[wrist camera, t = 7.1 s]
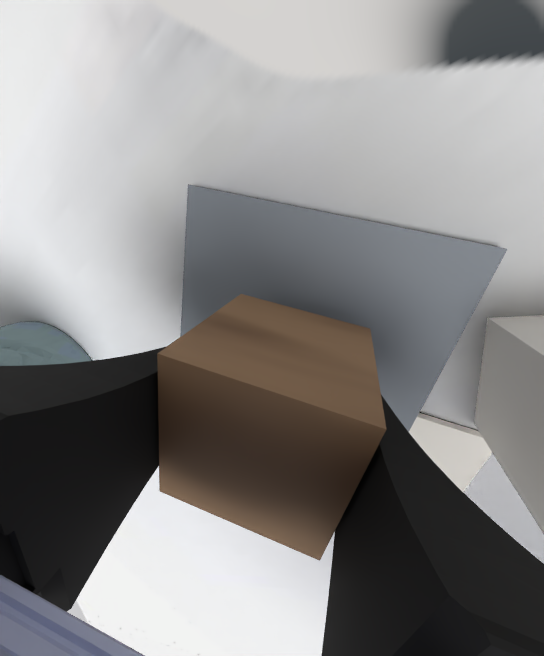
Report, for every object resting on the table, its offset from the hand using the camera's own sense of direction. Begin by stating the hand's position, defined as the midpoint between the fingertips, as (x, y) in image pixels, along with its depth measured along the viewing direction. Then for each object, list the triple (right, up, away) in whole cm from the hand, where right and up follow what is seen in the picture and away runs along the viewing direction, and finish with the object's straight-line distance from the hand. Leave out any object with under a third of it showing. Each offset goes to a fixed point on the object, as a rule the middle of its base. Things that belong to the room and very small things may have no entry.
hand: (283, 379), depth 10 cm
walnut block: (0, 0, +1) cm, 1 cm away
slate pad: (+1, +1, +3) cm, 3 cm away
